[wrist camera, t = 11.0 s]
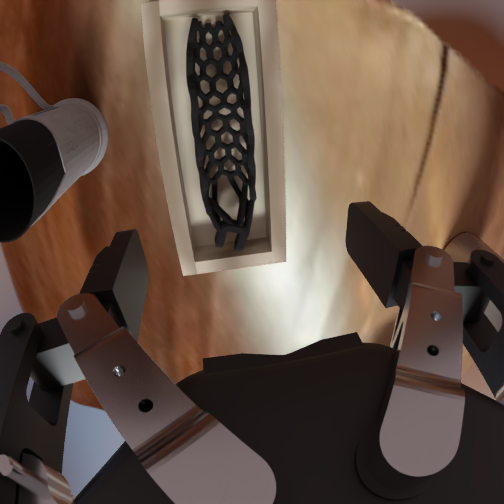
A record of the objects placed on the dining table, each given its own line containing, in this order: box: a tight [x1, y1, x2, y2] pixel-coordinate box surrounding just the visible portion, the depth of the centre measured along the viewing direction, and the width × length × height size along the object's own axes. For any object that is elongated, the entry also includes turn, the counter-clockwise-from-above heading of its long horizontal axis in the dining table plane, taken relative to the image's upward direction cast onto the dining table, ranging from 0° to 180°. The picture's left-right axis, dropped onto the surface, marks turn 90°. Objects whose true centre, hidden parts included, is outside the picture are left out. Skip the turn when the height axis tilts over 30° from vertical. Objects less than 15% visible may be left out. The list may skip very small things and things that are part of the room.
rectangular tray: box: [141, 0, 286, 276], centre depth 27 cm, size 11×27×4 cm, turn 4°
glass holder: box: [0, 62, 108, 243], centre depth 19 cm, size 9×14×15 cm, turn 14°
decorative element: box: [186, 13, 257, 252], centre depth 25 cm, size 22×5×6 cm, turn 5°
